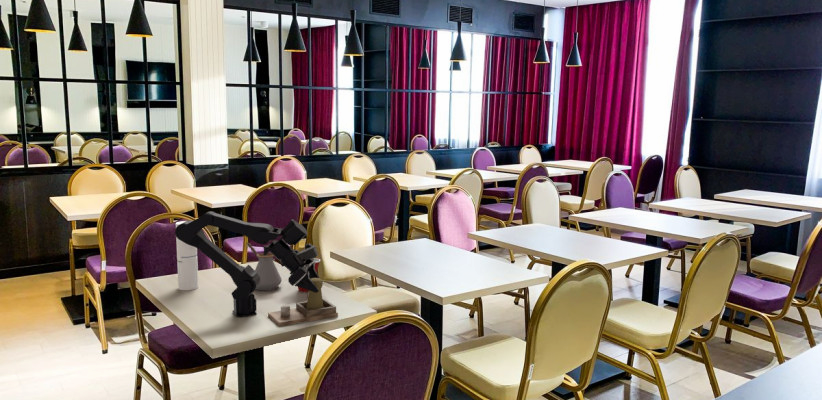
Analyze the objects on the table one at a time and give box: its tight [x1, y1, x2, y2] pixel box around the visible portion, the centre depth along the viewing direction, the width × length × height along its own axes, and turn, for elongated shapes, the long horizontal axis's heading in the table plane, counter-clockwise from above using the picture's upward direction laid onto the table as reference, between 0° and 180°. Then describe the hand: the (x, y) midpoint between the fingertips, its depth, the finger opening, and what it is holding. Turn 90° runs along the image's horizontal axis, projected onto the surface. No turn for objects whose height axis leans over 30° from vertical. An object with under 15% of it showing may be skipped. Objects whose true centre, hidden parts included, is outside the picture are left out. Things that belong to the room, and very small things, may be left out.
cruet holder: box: [267, 298, 339, 327], centre depth 206 cm, size 20×11×4 cm, turn 120°
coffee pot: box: [244, 242, 282, 291], centre depth 242 cm, size 21×12×15 cm, turn 40°
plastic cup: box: [297, 257, 321, 293], centre depth 236 cm, size 11×11×12 cm
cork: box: [306, 277, 324, 310], centre depth 208 cm, size 6×6×11 cm
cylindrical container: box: [175, 220, 199, 291], centre depth 236 cm, size 7×7×25 cm
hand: (319, 287), depth 208 cm, fingers open, 9 cm apart
